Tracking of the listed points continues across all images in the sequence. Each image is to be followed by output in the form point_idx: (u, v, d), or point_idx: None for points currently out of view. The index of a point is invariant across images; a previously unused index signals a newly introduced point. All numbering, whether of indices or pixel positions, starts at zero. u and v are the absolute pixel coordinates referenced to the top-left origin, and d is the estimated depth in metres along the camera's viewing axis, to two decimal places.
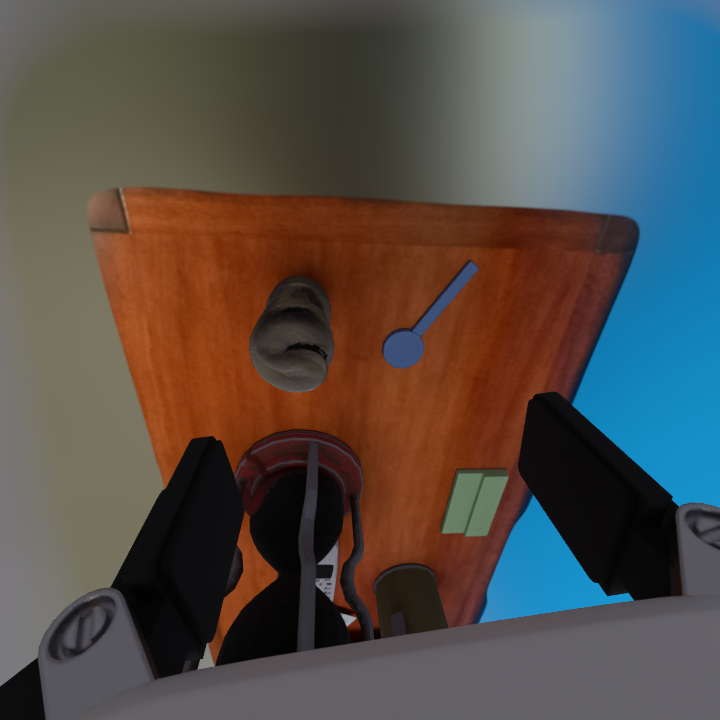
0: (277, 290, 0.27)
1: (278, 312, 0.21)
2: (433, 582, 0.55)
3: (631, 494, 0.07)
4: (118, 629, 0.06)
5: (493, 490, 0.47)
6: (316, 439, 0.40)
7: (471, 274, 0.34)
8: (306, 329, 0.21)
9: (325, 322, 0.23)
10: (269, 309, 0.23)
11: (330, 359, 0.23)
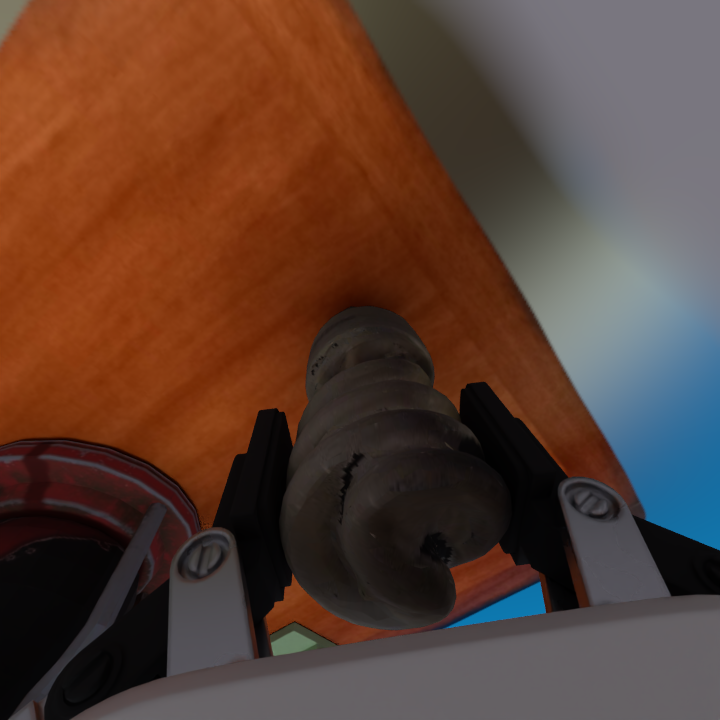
0: (388, 329, 0.13)
1: (455, 437, 0.08)
2: None
3: (524, 470, 0.08)
4: (228, 569, 0.06)
5: None
6: (170, 503, 0.23)
7: None
8: (485, 527, 0.08)
9: None
10: (411, 390, 0.09)
11: None
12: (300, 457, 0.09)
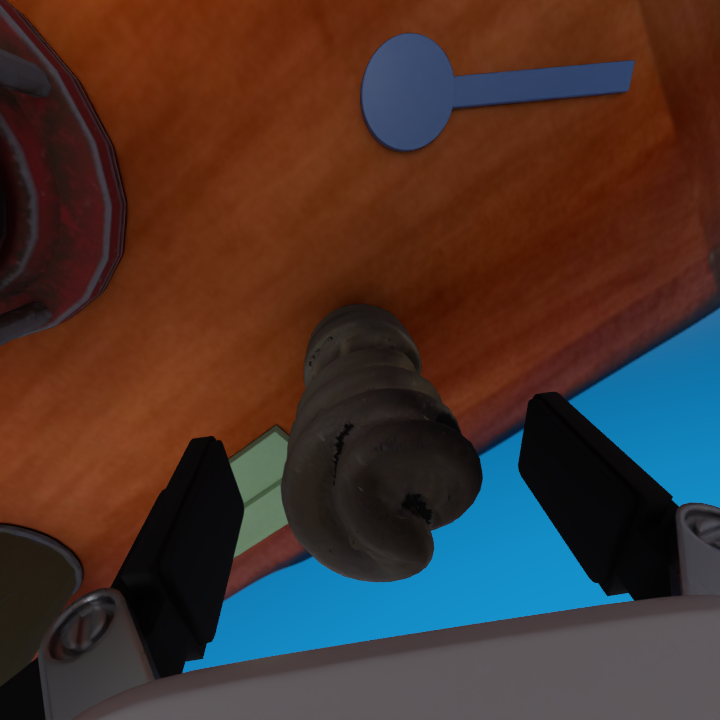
0: (378, 324, 0.14)
1: (432, 411, 0.09)
2: (65, 594, 0.27)
3: (631, 494, 0.07)
4: (118, 631, 0.06)
5: None
6: (58, 75, 0.14)
7: (613, 85, 0.17)
8: (459, 488, 0.09)
9: None
10: (396, 374, 0.10)
11: None
12: (299, 432, 0.10)
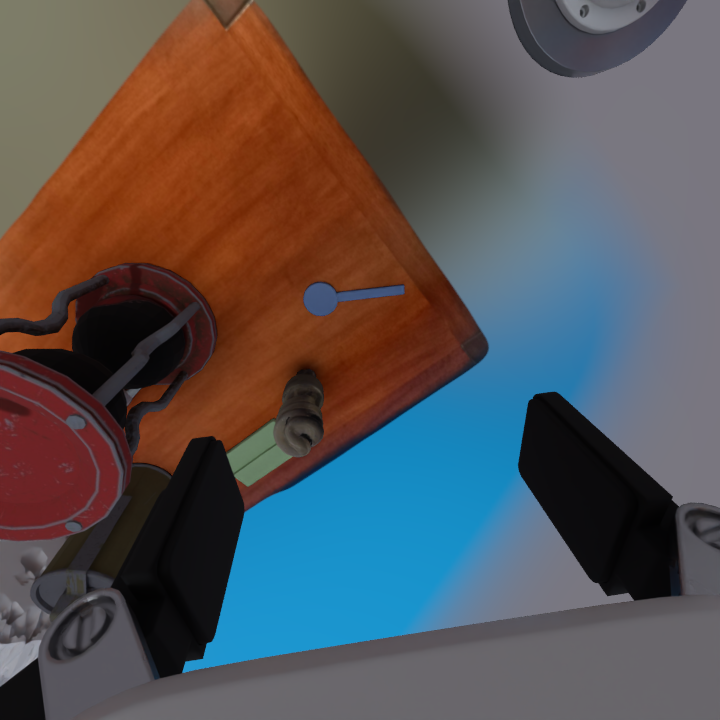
0: (306, 384, 0.43)
1: (310, 414, 0.38)
2: None
3: (631, 494, 0.07)
4: (118, 629, 0.06)
5: None
6: (202, 303, 0.43)
7: (397, 292, 0.46)
8: (316, 432, 0.38)
9: None
10: (304, 403, 0.39)
11: None
12: (278, 418, 0.39)
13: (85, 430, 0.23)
